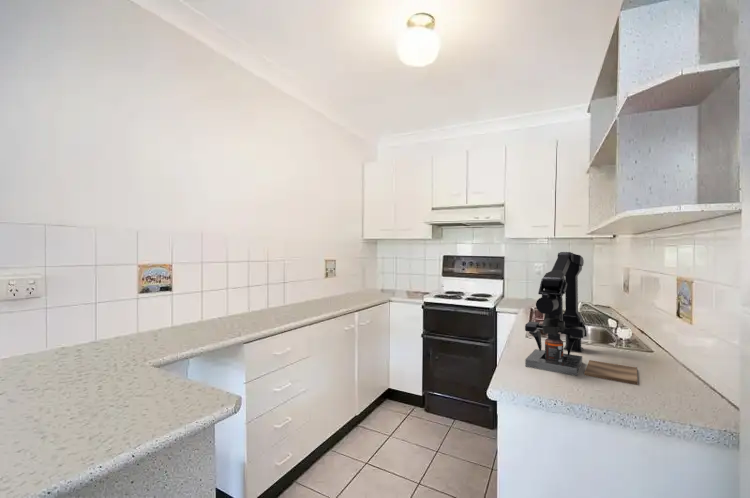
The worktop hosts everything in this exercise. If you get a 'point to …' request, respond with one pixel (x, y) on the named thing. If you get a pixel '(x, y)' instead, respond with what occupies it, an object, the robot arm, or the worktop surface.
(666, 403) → the worktop surface
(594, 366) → the walnut pad
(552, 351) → the supplement bottle
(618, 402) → the worktop surface
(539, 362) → the socket block
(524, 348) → the worktop surface
